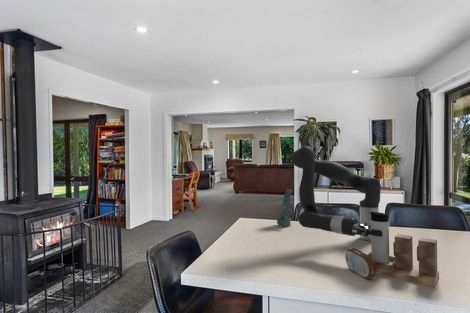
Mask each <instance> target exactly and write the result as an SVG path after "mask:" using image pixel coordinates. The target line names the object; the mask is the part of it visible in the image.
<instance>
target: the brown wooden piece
mask: <svg viewBox="0 0 470 313" xmlns="http://www.w3.org/2000/svg"><path fill="white" fill-rule="evenodd" d="M417 243H418V245H417V246H416V261H418V266H417V265H414V260H413V259H414V258H413V257H414V253H413V252H414V251H413V246H414V244H413V235H407V234H400V233H397V234H396V235H395V236H394V242H393V255H389V261H390V264H386V263H381V262H377V261H374V263H375V266H376V274H379V273H380V275H384V276H388V277H392V278H396V279H399V280H400V279H401V280H404V281H408V282H413V283H416V284H420V285H424V286H428V287H431V288H435V287H436V284H437V283H438V280H439V279H440V271H439V270H438V240H437V239H433V238H429V237H428V238H426V237H420V238H419V239H418V241H417ZM366 254H367V255H369V256H370V257H371V258H372V256H371V251H369V252H368V253H366Z"/></svg>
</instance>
